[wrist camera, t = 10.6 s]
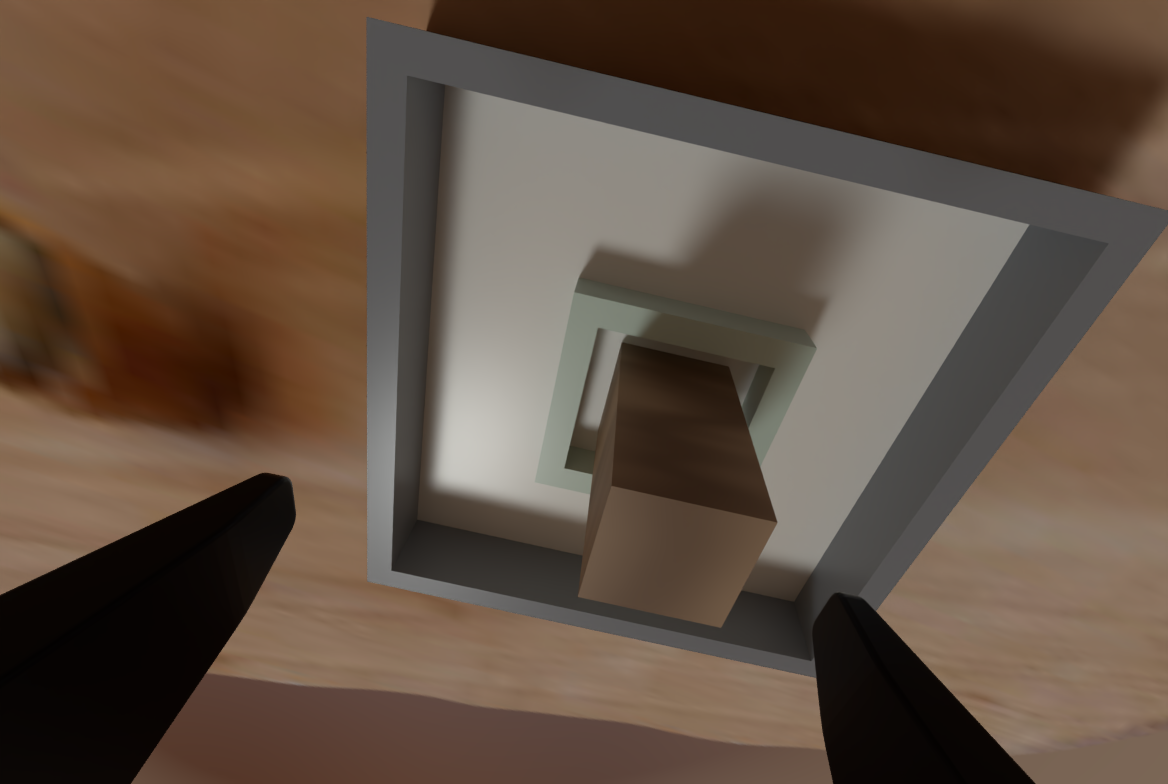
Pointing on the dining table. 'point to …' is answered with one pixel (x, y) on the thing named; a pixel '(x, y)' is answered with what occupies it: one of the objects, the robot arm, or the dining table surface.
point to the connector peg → (673, 491)
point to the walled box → (691, 325)
